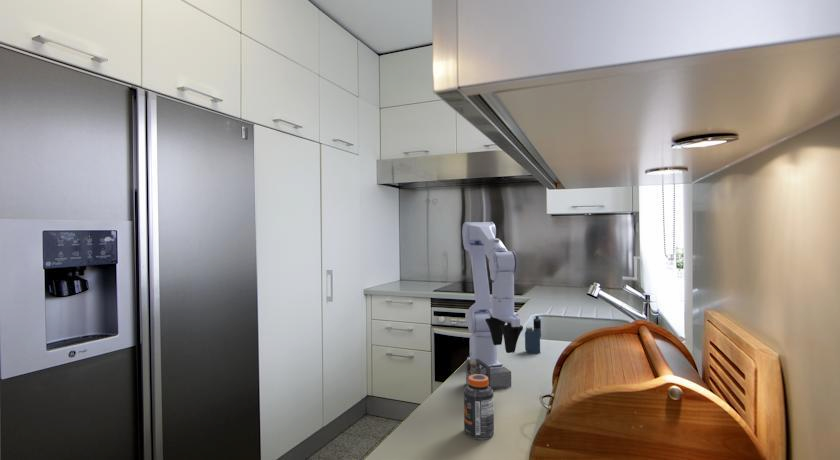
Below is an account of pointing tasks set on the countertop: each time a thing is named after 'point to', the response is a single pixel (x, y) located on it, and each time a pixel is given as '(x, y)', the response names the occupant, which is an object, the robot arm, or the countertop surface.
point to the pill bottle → (478, 408)
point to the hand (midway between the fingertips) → (503, 348)
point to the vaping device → (533, 337)
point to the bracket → (479, 362)
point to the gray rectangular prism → (495, 377)
